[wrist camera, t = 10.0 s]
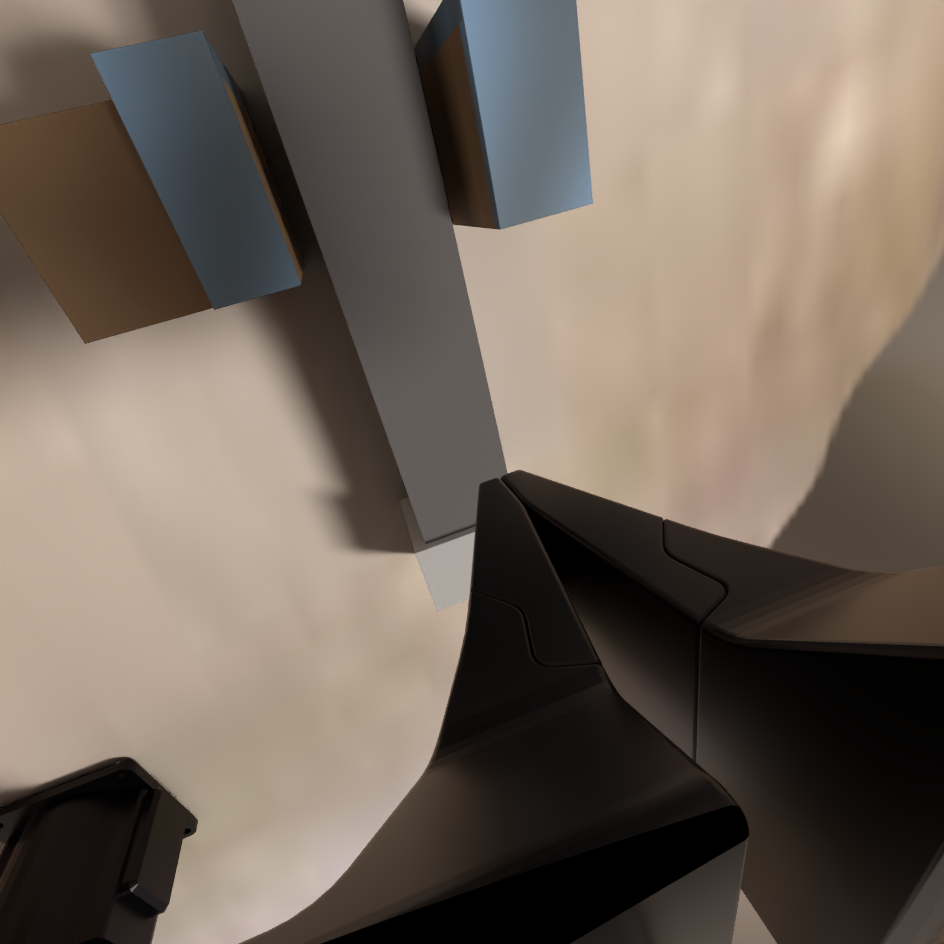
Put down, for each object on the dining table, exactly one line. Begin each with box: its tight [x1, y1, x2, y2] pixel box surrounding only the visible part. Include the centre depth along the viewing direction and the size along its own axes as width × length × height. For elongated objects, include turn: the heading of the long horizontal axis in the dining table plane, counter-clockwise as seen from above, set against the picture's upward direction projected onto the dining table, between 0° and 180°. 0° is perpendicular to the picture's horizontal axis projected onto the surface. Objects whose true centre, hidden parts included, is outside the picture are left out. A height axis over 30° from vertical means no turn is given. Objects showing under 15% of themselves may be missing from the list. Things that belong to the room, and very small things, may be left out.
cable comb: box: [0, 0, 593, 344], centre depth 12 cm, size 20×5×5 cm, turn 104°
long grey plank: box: [232, 0, 507, 612], centre depth 16 cm, size 20×4×4 cm, turn 14°
